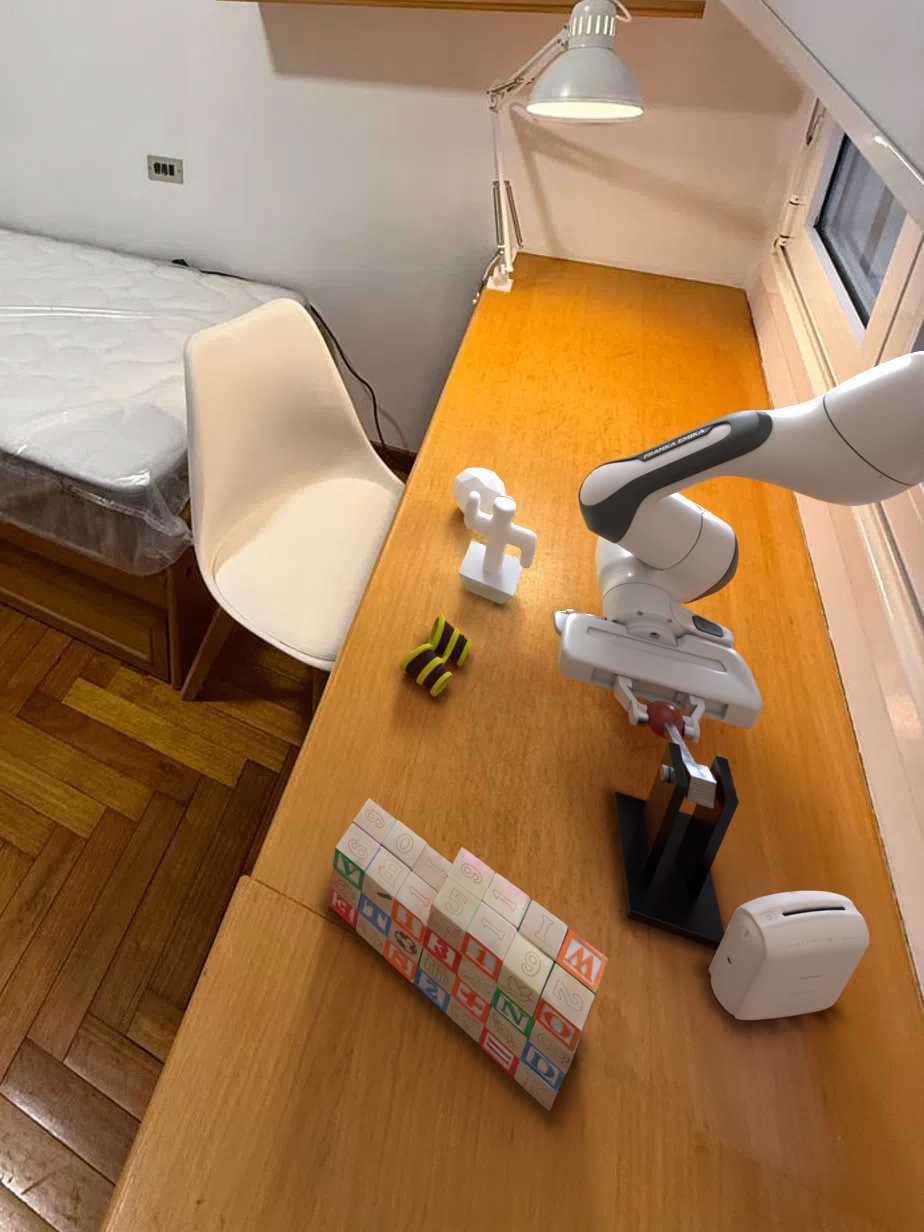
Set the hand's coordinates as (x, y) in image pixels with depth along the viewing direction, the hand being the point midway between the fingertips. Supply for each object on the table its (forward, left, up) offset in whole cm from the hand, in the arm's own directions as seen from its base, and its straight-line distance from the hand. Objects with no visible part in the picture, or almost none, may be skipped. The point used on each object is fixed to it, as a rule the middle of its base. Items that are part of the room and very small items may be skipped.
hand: (665, 730), depth 89 cm
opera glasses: (+23, -6, -8) cm, 25 cm away
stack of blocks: (+20, +26, -8) cm, 34 cm away
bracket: (0, +10, -8) cm, 12 cm away
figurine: (+17, -22, -8) cm, 29 cm away
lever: (0, +5, +1) cm, 5 cm away
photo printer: (-7, +18, -8) cm, 21 cm away
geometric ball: (+19, -37, -8) cm, 42 cm away
